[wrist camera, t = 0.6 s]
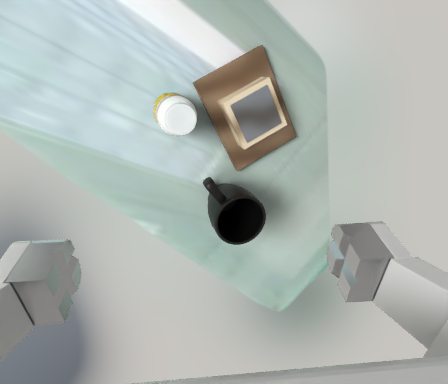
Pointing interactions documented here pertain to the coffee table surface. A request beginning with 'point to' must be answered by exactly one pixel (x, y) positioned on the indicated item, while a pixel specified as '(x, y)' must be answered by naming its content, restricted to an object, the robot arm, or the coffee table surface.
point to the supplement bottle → (175, 114)
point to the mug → (234, 212)
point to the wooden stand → (246, 107)
